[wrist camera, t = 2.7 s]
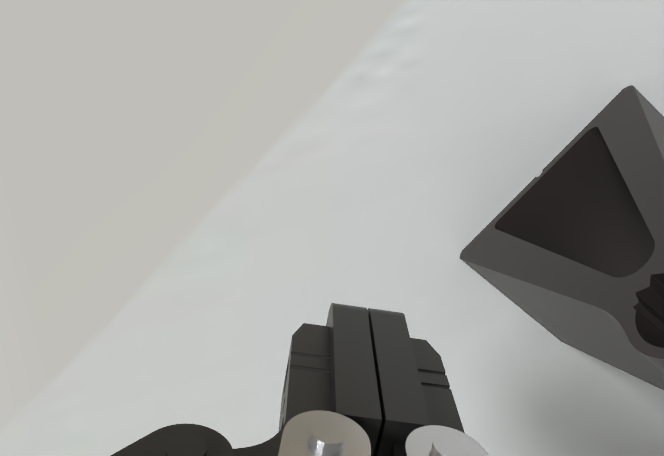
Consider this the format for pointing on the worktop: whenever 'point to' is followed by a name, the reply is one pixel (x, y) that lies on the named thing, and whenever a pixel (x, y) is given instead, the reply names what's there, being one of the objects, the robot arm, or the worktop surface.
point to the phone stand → (591, 241)
